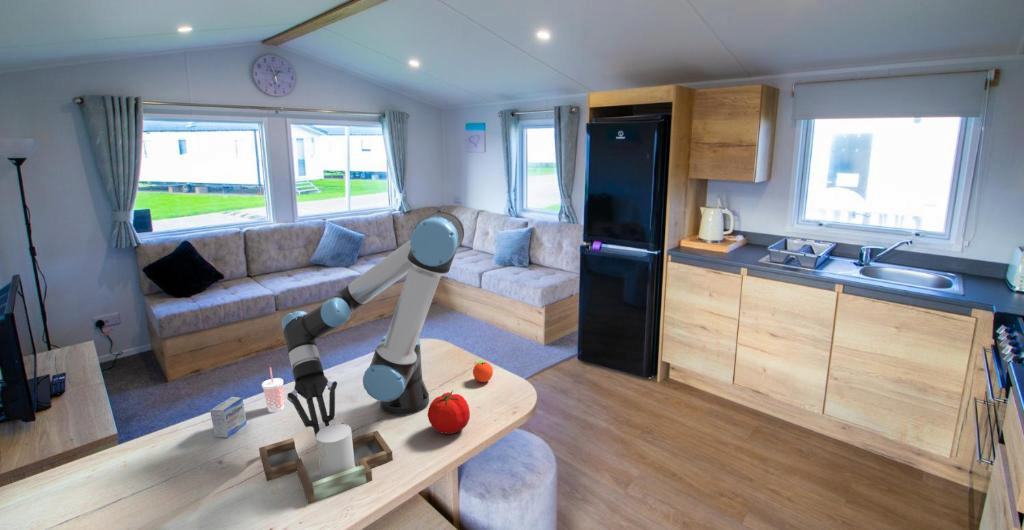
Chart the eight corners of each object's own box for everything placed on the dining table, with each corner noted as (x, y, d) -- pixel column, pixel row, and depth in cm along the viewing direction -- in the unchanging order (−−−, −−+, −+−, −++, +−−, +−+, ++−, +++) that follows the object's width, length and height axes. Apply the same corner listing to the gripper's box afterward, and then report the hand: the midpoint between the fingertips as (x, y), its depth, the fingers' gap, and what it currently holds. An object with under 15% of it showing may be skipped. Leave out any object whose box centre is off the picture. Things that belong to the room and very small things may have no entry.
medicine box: (227, 438, 144) (223, 411, 142) (214, 437, 145) (209, 409, 143) (247, 423, 152) (243, 397, 150) (234, 422, 153) (229, 396, 151)
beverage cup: (276, 414, 156) (270, 372, 153) (260, 411, 158) (254, 370, 155) (291, 405, 162) (285, 364, 159) (275, 402, 164) (269, 362, 161)
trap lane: (367, 423, 151) (366, 411, 150) (399, 470, 129) (398, 456, 128) (260, 456, 136) (258, 442, 135) (275, 515, 114) (273, 500, 113)
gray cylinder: (324, 467, 130) (319, 425, 128) (357, 463, 132) (353, 422, 129) (318, 488, 123) (312, 444, 120) (353, 484, 124) (348, 440, 121)
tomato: (468, 417, 153) (467, 383, 150) (472, 439, 142) (470, 402, 139) (428, 422, 151) (426, 387, 148) (428, 444, 140) (426, 407, 137)
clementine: (467, 380, 177) (466, 361, 175) (482, 373, 181) (481, 355, 180) (481, 387, 171) (481, 368, 169) (497, 381, 176) (496, 362, 174)
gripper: (329, 364, 146) (350, 444, 136) (280, 376, 139) (299, 461, 129) (332, 353, 140) (354, 436, 130) (281, 365, 133) (300, 453, 124)
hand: (327, 448), depth 130 cm, fingers closed
